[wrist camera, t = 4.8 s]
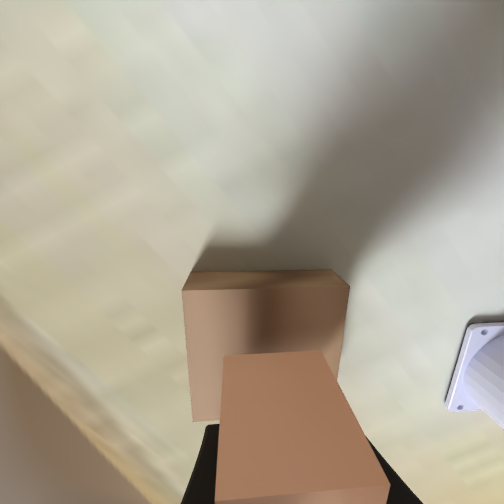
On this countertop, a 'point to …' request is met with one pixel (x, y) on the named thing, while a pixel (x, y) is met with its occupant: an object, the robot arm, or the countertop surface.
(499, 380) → the robot arm
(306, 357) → the peach block
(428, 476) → the countertop surface
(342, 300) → the walnut box
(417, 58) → the countertop surface
